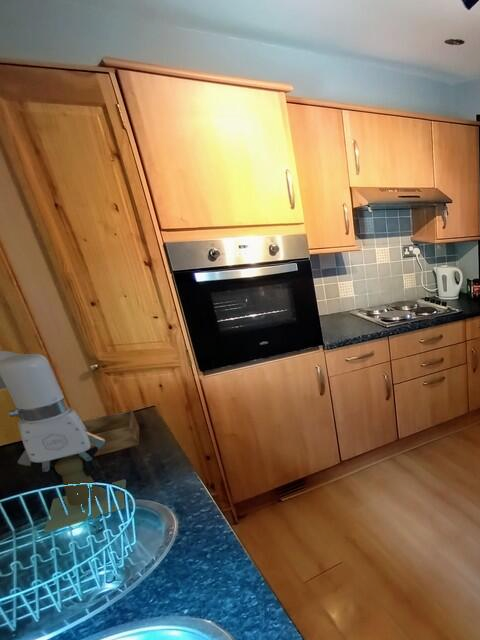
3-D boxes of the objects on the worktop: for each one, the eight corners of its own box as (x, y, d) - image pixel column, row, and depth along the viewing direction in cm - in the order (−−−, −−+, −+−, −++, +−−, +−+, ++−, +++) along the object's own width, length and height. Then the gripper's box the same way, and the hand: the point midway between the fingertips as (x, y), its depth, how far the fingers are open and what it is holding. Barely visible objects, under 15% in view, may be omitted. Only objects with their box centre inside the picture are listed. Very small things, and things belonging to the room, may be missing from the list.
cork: (99, 486, 113) (83, 449, 109) (102, 497, 109) (85, 459, 105) (67, 497, 109) (48, 458, 105) (69, 508, 105) (49, 469, 101)
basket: (80, 459, 128) (71, 440, 126) (85, 440, 138) (77, 422, 135) (138, 445, 135) (131, 426, 133) (139, 427, 145) (132, 410, 142)
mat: (45, 533, 101) (44, 531, 101) (54, 501, 111) (53, 499, 111) (124, 508, 109) (123, 506, 109) (126, 480, 119) (125, 478, 119)
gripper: (-17, 427, 92) (22, 499, 99) (93, 405, 101) (121, 472, 109) (-8, 413, 98) (28, 482, 105) (96, 394, 107) (122, 458, 114)
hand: (75, 476), depth 107 cm, fingers closed on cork, 5 cm apart
